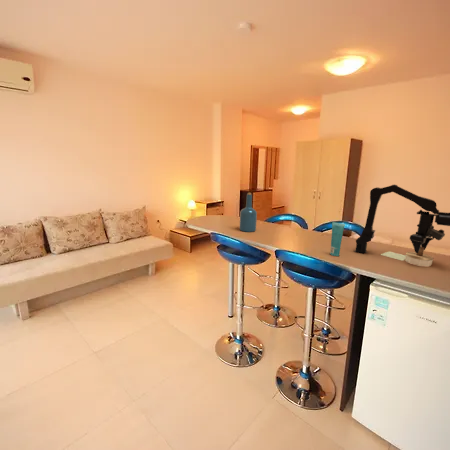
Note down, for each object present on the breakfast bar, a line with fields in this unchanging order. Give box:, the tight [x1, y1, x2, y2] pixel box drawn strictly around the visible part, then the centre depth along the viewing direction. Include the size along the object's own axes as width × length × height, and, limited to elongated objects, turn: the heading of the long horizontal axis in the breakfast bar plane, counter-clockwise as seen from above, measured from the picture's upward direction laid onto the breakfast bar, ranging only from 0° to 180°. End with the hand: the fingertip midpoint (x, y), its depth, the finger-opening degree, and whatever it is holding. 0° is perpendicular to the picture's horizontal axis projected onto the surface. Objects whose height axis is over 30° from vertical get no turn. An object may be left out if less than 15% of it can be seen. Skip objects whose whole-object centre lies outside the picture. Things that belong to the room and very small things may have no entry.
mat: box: [380, 251, 406, 262], centre depth 154 cm, size 12×12×1 cm
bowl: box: [404, 254, 434, 268], centre depth 143 cm, size 11×11×4 cm
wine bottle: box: [239, 192, 258, 233], centre depth 205 cm, size 14×13×30 cm
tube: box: [329, 221, 346, 257], centre depth 152 cm, size 7×5×19 cm, turn 47°
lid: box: [405, 247, 434, 261], centre depth 142 cm, size 12×12×5 cm
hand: (420, 251), depth 142 cm, fingers open, 9 cm apart
